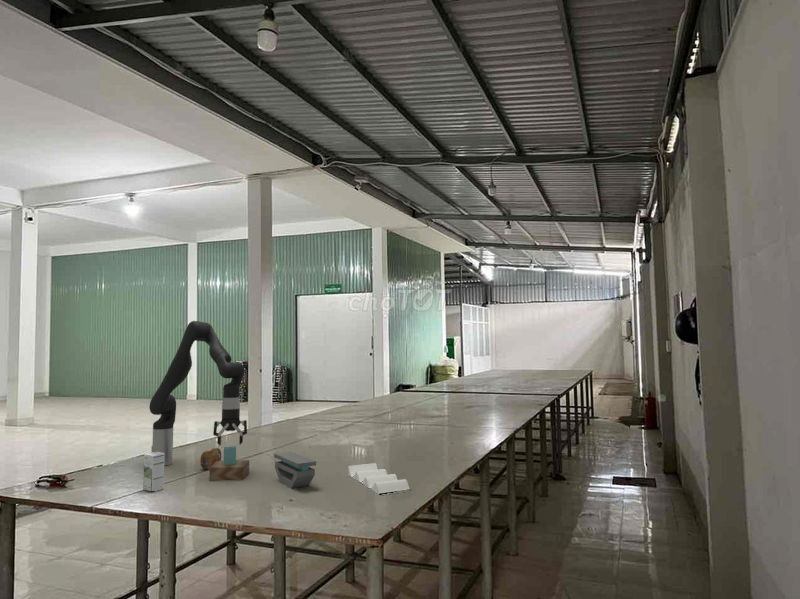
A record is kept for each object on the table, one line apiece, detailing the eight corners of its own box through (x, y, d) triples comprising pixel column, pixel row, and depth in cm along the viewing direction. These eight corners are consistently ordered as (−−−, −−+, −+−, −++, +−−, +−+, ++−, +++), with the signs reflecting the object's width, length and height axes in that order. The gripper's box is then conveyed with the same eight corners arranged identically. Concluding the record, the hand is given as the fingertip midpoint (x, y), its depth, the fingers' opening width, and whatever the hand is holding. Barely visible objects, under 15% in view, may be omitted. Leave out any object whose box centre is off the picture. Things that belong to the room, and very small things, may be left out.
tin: (205, 471, 256) (205, 452, 256) (198, 471, 256) (199, 452, 257) (221, 464, 270) (222, 446, 271) (215, 464, 271) (216, 446, 272)
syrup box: (164, 489, 225) (165, 452, 226) (151, 492, 219) (152, 455, 221) (155, 487, 227) (156, 451, 229) (142, 490, 222) (143, 453, 223)
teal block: (223, 465, 242) (224, 448, 243) (223, 462, 247) (223, 446, 247) (235, 464, 244) (236, 448, 244) (235, 462, 248) (235, 446, 249)
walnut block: (209, 482, 237) (209, 467, 238) (217, 474, 251) (217, 460, 252) (242, 481, 238) (243, 467, 239) (248, 473, 252) (249, 460, 253)
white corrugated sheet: (380, 497, 213) (380, 483, 213) (348, 477, 244) (348, 465, 245) (410, 493, 219) (410, 480, 219) (375, 474, 250) (376, 463, 250)
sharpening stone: (273, 479, 240) (274, 453, 241) (290, 476, 244) (291, 451, 245) (297, 492, 219) (298, 463, 220) (316, 489, 224) (316, 461, 225)
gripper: (247, 406, 253) (246, 442, 251) (214, 407, 249) (213, 444, 247) (247, 408, 245) (246, 445, 244) (213, 409, 241) (212, 447, 240)
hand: (230, 444), depth 246 cm, fingers open, 8 cm apart
